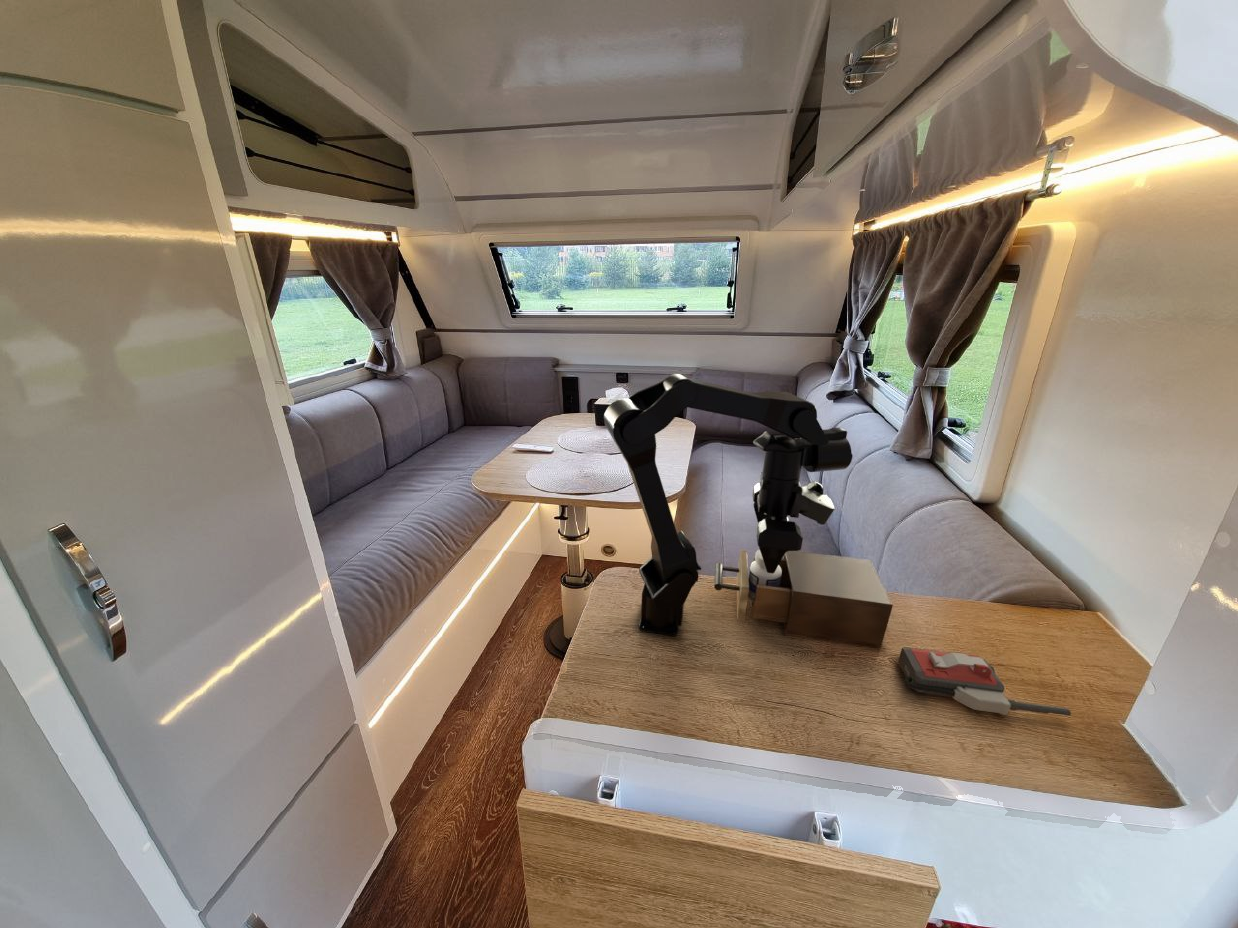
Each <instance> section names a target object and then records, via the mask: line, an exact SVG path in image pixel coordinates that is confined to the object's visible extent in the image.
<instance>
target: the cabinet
mask: <svg viewBox="0 0 1238 928" xmlns="http://www.w3.org/2000/svg"><path fill="white" fill-rule="evenodd" d="M783 558H784V559H786V563H787V568H788V574H789V579H790V584H791V589H792V596H791V601H790V606H789V612H788V617H787V623H784V622H783V626H784V633H785V635H790V636H796V637H803V638H809V639H815V640H823V641H827V642H828V641H830V642H835V643H842V644H848V645H855V646H862V647H868V648H874V649H879V650H880V649H881V648H882V645H883V641H884V639H885V634H886V631H887V628H888V625H889V621H890V617H891V614H892V609H893V606H894V604H893V602H892V600H891V598H890V596H889V594H888V592H887V589H886V588H885V586H884V584H883V582H882V579H881V578H880V576H879V574H878V572H877V570H876V568H875V566H874V564H873V562H872V560H871V559H866V558H865V559H864V558H856V557H848V556H841V555H831V554H823V553H814V552H806V551H801V550H799V551H787V552H786V553H785V554H784V556H783Z"/></svg>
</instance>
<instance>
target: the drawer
mask: <svg viewBox="0 0 1238 928" xmlns="http://www.w3.org/2000/svg"><path fill="white" fill-rule="evenodd" d="M755 556H756V554H754V555H753V561H752V562H754V561H755ZM738 557H739V558H738V563H737V565H738V566H737V567H734V566H726V565H723V564H722V563H720V562H717V563H715V565H714V581H713V587H714V590H715V591H722V589H723V590H724V589H725V590H730V591H736V619H737V620H738V621H745V620H746V614H747V606H748V600H749V598H748V592H749V564H748V551H747V550H742V549H740V550H739V556H738ZM779 566H780V567H781V570H782V575H781V581H780V588H779V587H772V586H765V585H757V587H756V593H755V600H754V603H753V602H751V601H750V602H751V615H752V617H751V618H752V619H758V620H766V621H771V622H778V623H783V624H784V623H787V617H788V612H789V606H790V601H791V596H792V589H791V584H790V579H789V574H788V568H787V563H786V559H784V557H783V558H782V560H781V561H780V563H779ZM724 572H732V573H736V579H737V580H736V579H735V582H736V585H733V584H726V583H723V578H724V576H723V575H724Z"/></svg>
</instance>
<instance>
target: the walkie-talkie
mask: <svg viewBox="0 0 1238 928" xmlns="http://www.w3.org/2000/svg"><path fill="white" fill-rule="evenodd" d="M897 662H898V664H899V666H900V669H901V670H902V672H903V674H904V677H905V678H904V685H905V686H906V687H907V688H909V689H911V690H914V691H915V692H916V693H921V694H928V695H929V694H930V695H934V696H935V695H937V696H944V697H950V698H951V697H952V698H953V699H954V700H955V701H956V702H958V703H960V704H962V705H964V706H966V707H967V708H970V709H972V710H974V711H981V712H987V713H995V714H998V715H1004V716H1008V714H1009V711H1022V712H1023V711H1024V712H1032V713H1039V714H1047V715H1048V714H1054V715H1063V716H1071V715H1072V711H1071V710H1070V709H1069V708H1067V707H1063V706H1054V705H1046V704H1039V703H1030V702H1023V701H1016V700H1015V699H1009V698H1007V697H1006V696H1005V693H1004V691H1005V684H1004V682H1002V681H1001V679H1000V678H999V676H998V675H997V674H996V671H995V668H994V667H993V665H991V664H989V663H988V662H987V660H986V659H985V658H984V657H982V656H980V655H974V654H967V653H960V652H959V653H958V652H952V651H951V652H950V651H942V650H934V649H933V650H932V649H925V648H918V647H909V646H908V647H907V646H904V647H902V648H901V650H900V653H899V656H898V659H897Z"/></svg>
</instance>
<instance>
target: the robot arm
mask: <svg viewBox="0 0 1238 928" xmlns="http://www.w3.org/2000/svg"><path fill="white" fill-rule="evenodd" d="M688 408H689V409H693V410H697V411H698V410H699V411H703V412H707V413H713V414H718V415H721V416H722V415H723V416H728V417H733V418H737V419H742V420H748V421H752V422H756V423H758V424H759V425H762V426H765V427H767V428H769V429H771V430H773V431H775V432H777V433H780V434H782V435H773V433H771V432H768V431H764V432H763V434H761V435H760V436H758V437H756V439H754V440H753V441H752V443H753V445H754V446H756V447H757V448H759V449H760V450H761V451H763V452H764V457H763V465H762V470H761V471H760V475H759V479H760V481H758V482H757V483H756V484H754V485H753V489H752V504H753V510H754V513H755V517H756V520H757V521H756V522H757V528H756V543H757V546H758V550H760V552H761V555H762V558H763V561H764V564H765V567H766V570H767V572H768V573H774V572H775V571H776V569H777V567H778V565H779V563H780V561H781V560H782V558H784V554H785V553H786V552H787V551H802V547H803V540H804V537H803V533H802V531H801V527H800V526H799V525H798V524H797V523H796V521H791V520H789V517H790V518H795V519H799V517H800V515H801V516H804V517H805V518H808V519H810V520H812V521H815V522H816V523H817V524H819V525H823V526H825V524H826V523H827V522H828V521H829V519H830V517H831V516H832V515H833V513H834V511H835V509H836V508H835V505H834V503H833V501H832V499H831V498H830V497H829V496H828V494H824V487H823V485H822V483H820V482H817V481H815V480H812V481H811V482H810V483H808V484H807V485H806V484H804V486H802V485H801V483H800V481H801V473H802V467H803V468H804V470H805V471H807V472H808V473H820V472H831V471H832V472H833V471H841V470H846V469H847V468H849V466H850V465H851V464H852V460H853V452H852V447H851V444H850V441H849V440H848V438H847V436H848V431H847V430H845V429H843V428H841V427H832V428H831V427H830V428H827V429H823V428H822V426H821V423H820V422H819V420H818V411H817V408H816V405H815V404H814V403H813V402H810V401H809V400H806V399H804V398H801V397H799V396H797V395H794V394H792V393H790V392H788V391H771V390H769V391H761V392H760V391H759V392H752V391H748V390H747V391H746V390H742V389H738V388H734V387H730V386H726V385H725V386H724V385H721V384H716V383H712V382H708V381H703V380H698V379H694V378H690V377H686V376H684V375H683V374H680V373H673V374H671V375H668V376H667V377H665V378H663V379H662V380H661V381H659V382H658V383H655V384H653V385H650V386H648V387H645V388H643V389H641V390H638V391H637V392H634V393H633V394H632V395H630V396H629V397H627V398H619V399H616V400H614V401H613V402H611V403H610V405H608V407H607V408H606V410H605V412H604V414H603V420H604V421H603V422H604V426H605V428H606V429H607V431H608V433H609V435H610V437H611V439H612V440H613V441H614V444H615V445H616V447H617V448H618V450H619V452H620V454H621V455H622V457H623V459H624V460H625V462H626V464H627V467H628V470H629V474H630V476H631V480H632V482H633V485H634V488H635V490H636V494H637V496H638V501H639V503H640V507H641V509H642V512H643V514H644V518H645V520H646V524H647V526H648V529H649V532H650V535H651V540H650V541H651V542H650V552H651V557H650V558H649V559H648V560H647V561H646V562H645V563H643V564H642V565H641V567H639V568H638V572H639V574H640V577H641V580H643V583H644V584H643V588H642V593H641V606H640V607H641V608H640V609H641V610H640V620H639V624H638V631H641V632H646V633H654V634H660V635H666V636H670V637H671V636H672V637H677V636H678V634H679V628H680V627H681V626H683V619H684V607H685V603H686V601H687V600H688V597H689V594H690V592H691V591H692V588H693V587H694V586H695V584H696V582H698V581H699V577H700V576H699V571H701V570H702V567H701V566H700V564H699V563H698V560H697V552H696V549H695V546H693V544H692V543H691V541H690V539H689V538H688V536H687V535H686V533H685V532H684V531H683V530H680V531H679V532H678V531H677V528H676V525H675V522H674V519H673V518H674V517H673V515H672V512H671V509H670V505H669V501H668V499H667V496H666V492H665V489H664V486H663V483H662V480H661V477H660V473H659V470H658V466H657V463H656V456H657V438H656V434H658V433H660V432H661V431H663V430H664V429H666V428H667V427H668V426H669V425H670V424H671V422H672V421H673V420H674V419H675V418H676V417H677V416H678V415H679V414H681V412H683V411H685V410H686V409H688Z"/></svg>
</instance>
